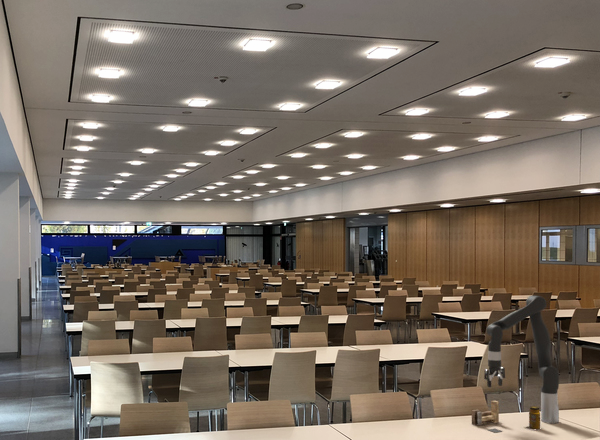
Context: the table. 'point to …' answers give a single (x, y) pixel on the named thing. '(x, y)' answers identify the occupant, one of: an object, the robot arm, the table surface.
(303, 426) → the table surface
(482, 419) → the wooden frame
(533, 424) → the condiment
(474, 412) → the walnut rail
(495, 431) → the foot pad
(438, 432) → the table surface
